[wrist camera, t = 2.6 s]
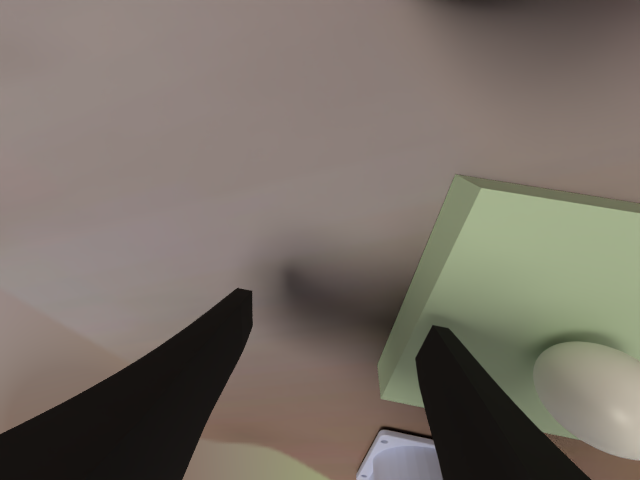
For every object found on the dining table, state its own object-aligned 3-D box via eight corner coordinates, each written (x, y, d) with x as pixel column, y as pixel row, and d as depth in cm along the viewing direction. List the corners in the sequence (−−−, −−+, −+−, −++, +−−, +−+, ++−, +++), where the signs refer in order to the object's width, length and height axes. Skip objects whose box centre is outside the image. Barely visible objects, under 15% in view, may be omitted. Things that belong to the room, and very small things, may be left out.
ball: (575, 382, 10) (666, 490, 7) (498, 367, 10) (557, 466, 7) (634, 331, 9) (782, 442, 6) (542, 314, 9) (639, 413, 6)
